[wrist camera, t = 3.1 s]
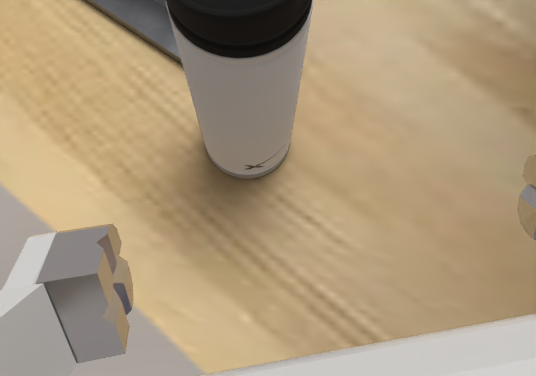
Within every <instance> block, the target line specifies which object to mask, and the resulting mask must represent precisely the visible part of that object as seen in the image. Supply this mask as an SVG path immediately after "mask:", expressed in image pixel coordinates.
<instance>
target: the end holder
mask: <svg viewBox="0 0 536 376" xmlns="http://www.w3.org/2000/svg"><path fill="white" fill-rule="evenodd" d="M85 1H87V2H88V3H90V4H91V5H93V6H94V7H96V8H97V9H99V10H100V11H102V12H103V13H105V14H106V15H108V16H109V17H111V18H112V19H114V20H115V21H117V22H118V23H120V24H121V25H123V26H124V27H126V28H127V29H129V30H130V31H132V32H133V33H135V34H136V35H138V36H139V37H141V38H143V39H144V40H146V41H147V42H149V43H150V44H152V45H153V46H155V47H156V48H158V49H159V50H161V51H162V52H164V53H165V54H167V55H168V56H170V57H171V58H173V59H174V60H176V61H177V62H179V63H180V64H182V61H181V57H180V54H179V50H178V47H177V43H176V39H175V36H174V32H173V29H172V25H171V22H170V18H169V14H168V11H167V7H166V0H85ZM182 65H183V64H182Z"/></svg>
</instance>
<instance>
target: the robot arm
mask: <svg viewBox="0 0 536 376" xmlns="http://www.w3.org/2000/svg"><path fill="white" fill-rule="evenodd" d="M523 178H524V179H525V181H526V182H527V183H528V186H527V187H526V188H525V189H524V191H523V192H522V193H521V194H520V195H519V204H518V213H519V217H520V222H521V224H522V226H523V228H524V229H525V231H526V232H527V233H528V234H529V235H530V236H531V238H532V239H534V240H536V155H534V156H530V157H528V159H527V161H526V163H525V165H524V170H523ZM120 248H121V240H120V237H119V234H118V231H117V228H116V227H115V226H114V225H113V224H107V225H100V226H93V227H86V228H80V229H73V230H66V231H60V232H57V231H56V232H51V233H45V234H40V235H35V236H31V237H29V238H28V239H27V241H26V243H25V245H24V247H23V249H22V251H21V253H20V255H19V257H18V259H17V261H16V263H15V265H14V267H13V269H12V271H11V273H10V275H9V277H8V279H7V281H6V283H5V285H4V287H3V289H2V290H0V376H70V375H71V374H72V372H73V371H74V370H75V369H76V367H77V363H82V362H87V361H91V360H96V359H101V358H106V357H111V356H116V355H120V354H125V351H126V346H127V338H128V333H129V323H128V320H127V317H126V315H127V314H128V313H129V312H130V311H131V310H132V305H133V283H132V278H131V273H130V269H129V266H128V262H127V261H126V260H124V259H123V258H122V257H120V256H119V253H120ZM199 376H536V314H530V315H525V316H519V317H514V318H509V319H503V320H498V321H492V322H487V323H481V324H476V325H471V326H465V327H460V328H454V329H449V330H443V331H438V332H433V333H427V334H422V335H416V336H411V337H405V338H400V339H394V340H389V341H384V342H378V343H373V344H367V345H362V346H356V347H351V348H346V349H340V350H335V351H329V352H324V353H318V354H313V355H308V356H302V357H297V358H291V359H286V360H280V361H275V362H269V363H264V364H259V365H253V366H248V367H242V368H237V369H231V370H226V371H221V372H215V373H210V374H204V375H199Z"/></svg>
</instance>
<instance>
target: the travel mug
mask: <svg viewBox="0 0 536 376" xmlns="http://www.w3.org/2000/svg"><path fill="white" fill-rule="evenodd" d="M166 7H167V11H168V14H169V18H170V22H171V25H172V29H173V32H174V36H175V39H176V43H177V47H178V50H179V54H180V57H181V61H182V64H183V68H184V72H185V75H186V79H187V82H188V86H189V89H190V93H191V96H192V100H193V104H194V107H195V111H196V114H197V118H198V121H199V125H200V128H201V132H202V136H203V139H204V143H205V146H206V150H207V153H208V155H209V157H210V159H211V160H212V162H213V163H214V164H215V165H216V166H217V167H218V168H219V169H220V170H221V171H223V172H225V173H226V174H228V175H230V176H234V177H237V178H243V179H251V178H258V177H261V176H264V175H266V174H268V173H271V172H272V171H273V170H275V169H276V168H277V167H278V166H279V165H280V164H281V163H282V162H283V160H284V158H285V157H286V155H287V153H288V150H289V146H290V140H291V134H292V128H293V122H294V116H295V110H296V104H297V98H298V92H299V86H300V80H301V74H302V68H303V62H304V56H305V50H306V44H307V38H308V32H309V26H310V20H311V14H312V8H313V0H166Z"/></svg>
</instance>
